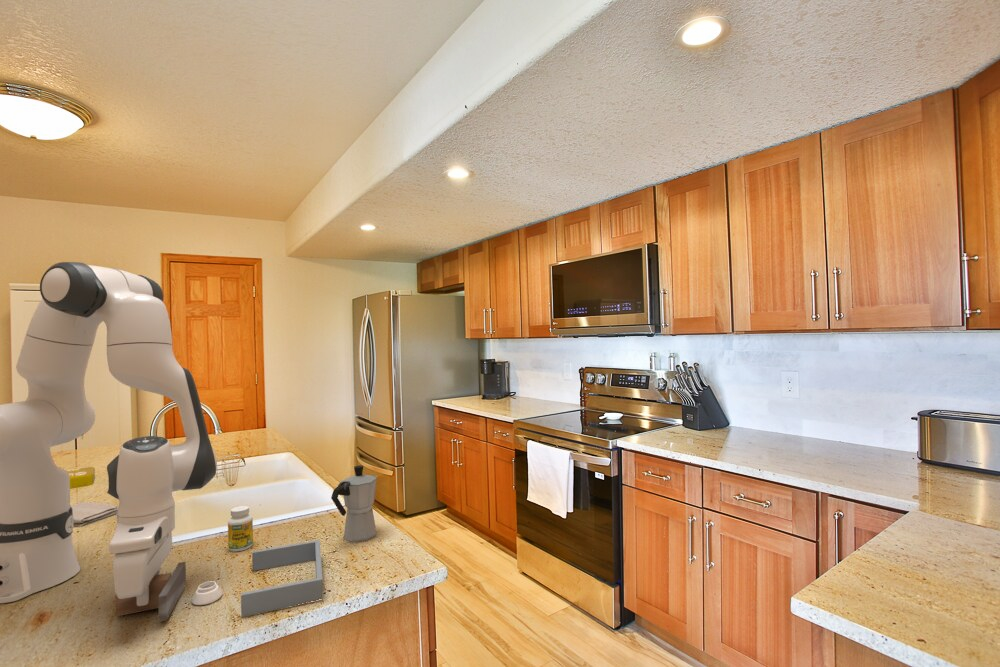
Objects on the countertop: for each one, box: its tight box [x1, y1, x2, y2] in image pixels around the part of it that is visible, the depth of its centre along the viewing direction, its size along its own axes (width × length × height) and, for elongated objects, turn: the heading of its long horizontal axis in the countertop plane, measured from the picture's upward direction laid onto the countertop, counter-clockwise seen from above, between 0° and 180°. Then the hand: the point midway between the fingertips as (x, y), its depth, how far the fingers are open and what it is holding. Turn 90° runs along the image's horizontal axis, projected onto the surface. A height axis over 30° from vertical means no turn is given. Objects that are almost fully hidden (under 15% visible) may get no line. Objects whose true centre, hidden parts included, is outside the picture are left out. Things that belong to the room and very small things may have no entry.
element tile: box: [65, 466, 96, 490], centre depth 173 cm, size 15×15×5 cm
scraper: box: [114, 561, 187, 623], centre depth 90 cm, size 9×14×5 cm, turn 22°
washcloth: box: [70, 501, 119, 528], centre depth 140 cm, size 12×18×3 cm, turn 78°
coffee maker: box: [330, 464, 378, 544], centre depth 121 cm, size 15×9×18 cm, turn 149°
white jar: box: [191, 580, 223, 606], centre depth 93 cm, size 5×3×5 cm
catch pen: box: [240, 539, 324, 618], centre depth 99 cm, size 14×20×4 cm
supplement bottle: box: [227, 505, 254, 553], centre depth 117 cm, size 5×5×10 cm
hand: (147, 597), depth 90 cm, fingers closed on scraper, 3 cm apart
